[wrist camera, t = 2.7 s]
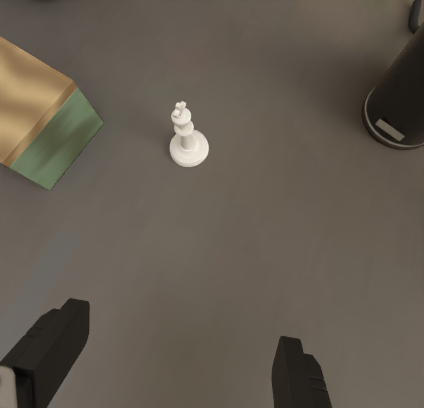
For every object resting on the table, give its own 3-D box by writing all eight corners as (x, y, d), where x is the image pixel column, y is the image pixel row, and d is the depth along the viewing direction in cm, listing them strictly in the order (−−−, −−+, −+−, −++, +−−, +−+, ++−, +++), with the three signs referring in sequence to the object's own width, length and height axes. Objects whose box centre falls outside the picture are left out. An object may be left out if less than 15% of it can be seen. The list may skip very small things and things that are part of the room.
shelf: (15, 68, 45) (-35, 15, 36) (104, 123, 42) (72, 80, 34) (-41, 128, 43) (-108, 87, 34) (49, 190, 40) (1, 163, 32)
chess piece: (162, 156, 41) (143, 114, 31) (182, 125, 42) (170, 75, 32) (196, 173, 40) (187, 136, 30) (215, 141, 41) (213, 95, 31)
